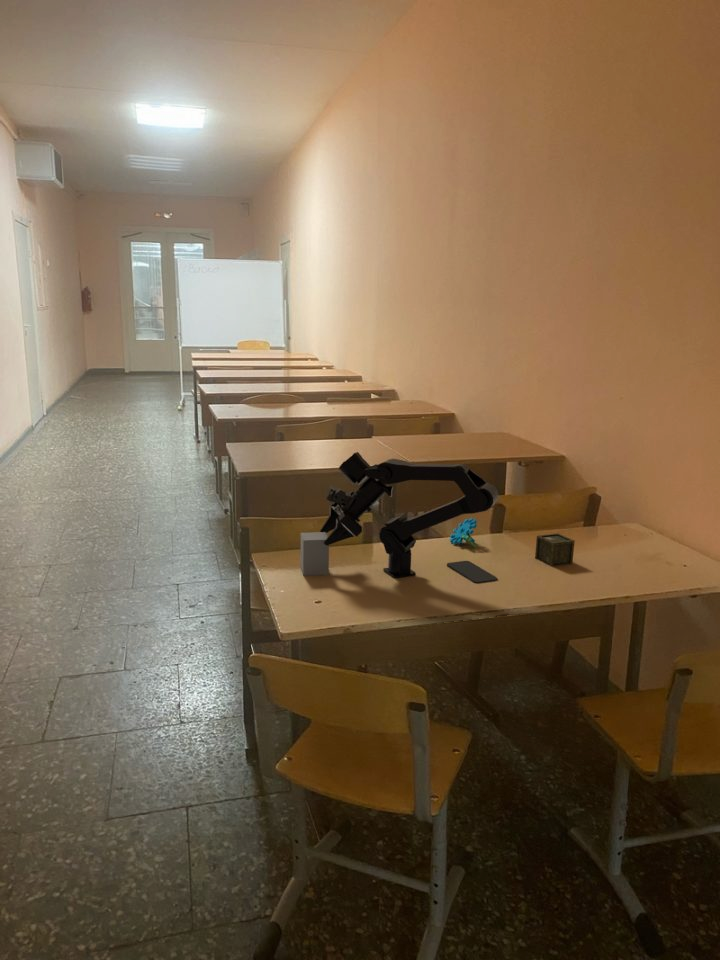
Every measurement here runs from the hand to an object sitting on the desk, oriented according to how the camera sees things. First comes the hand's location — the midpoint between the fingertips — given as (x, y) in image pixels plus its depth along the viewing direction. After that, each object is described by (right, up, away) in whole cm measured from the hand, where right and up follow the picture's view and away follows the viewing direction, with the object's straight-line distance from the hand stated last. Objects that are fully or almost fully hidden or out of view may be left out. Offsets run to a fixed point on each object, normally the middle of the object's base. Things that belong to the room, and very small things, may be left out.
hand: (322, 538), depth 185 cm
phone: (+39, -10, +3) cm, 41 cm away
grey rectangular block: (-2, -8, +1) cm, 9 cm away
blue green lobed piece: (+41, -4, +27) cm, 49 cm away
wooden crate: (+64, -8, +14) cm, 66 cm away
